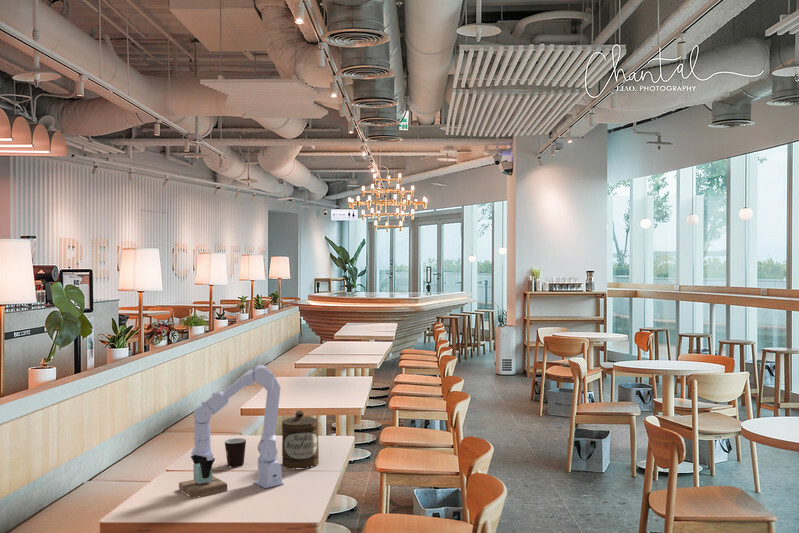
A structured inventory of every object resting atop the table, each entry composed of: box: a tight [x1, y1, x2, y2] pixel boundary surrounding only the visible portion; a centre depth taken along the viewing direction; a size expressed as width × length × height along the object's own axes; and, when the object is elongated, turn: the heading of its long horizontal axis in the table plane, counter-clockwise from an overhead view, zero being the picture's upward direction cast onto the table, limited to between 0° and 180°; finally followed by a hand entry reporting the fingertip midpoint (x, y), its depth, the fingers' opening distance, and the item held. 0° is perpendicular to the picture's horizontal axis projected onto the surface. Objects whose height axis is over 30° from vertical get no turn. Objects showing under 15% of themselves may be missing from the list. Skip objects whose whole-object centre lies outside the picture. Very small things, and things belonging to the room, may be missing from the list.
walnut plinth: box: [178, 475, 228, 499], centre depth 247 cm, size 13×13×2 cm
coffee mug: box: [224, 437, 247, 468], centre depth 281 cm, size 12×9×10 cm
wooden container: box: [281, 410, 320, 470], centre depth 279 cm, size 15×15×22 cm
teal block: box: [192, 463, 213, 484], centre depth 247 cm, size 5×5×6 cm
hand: (202, 476), depth 247 cm, fingers closed on teal block, 5 cm apart
